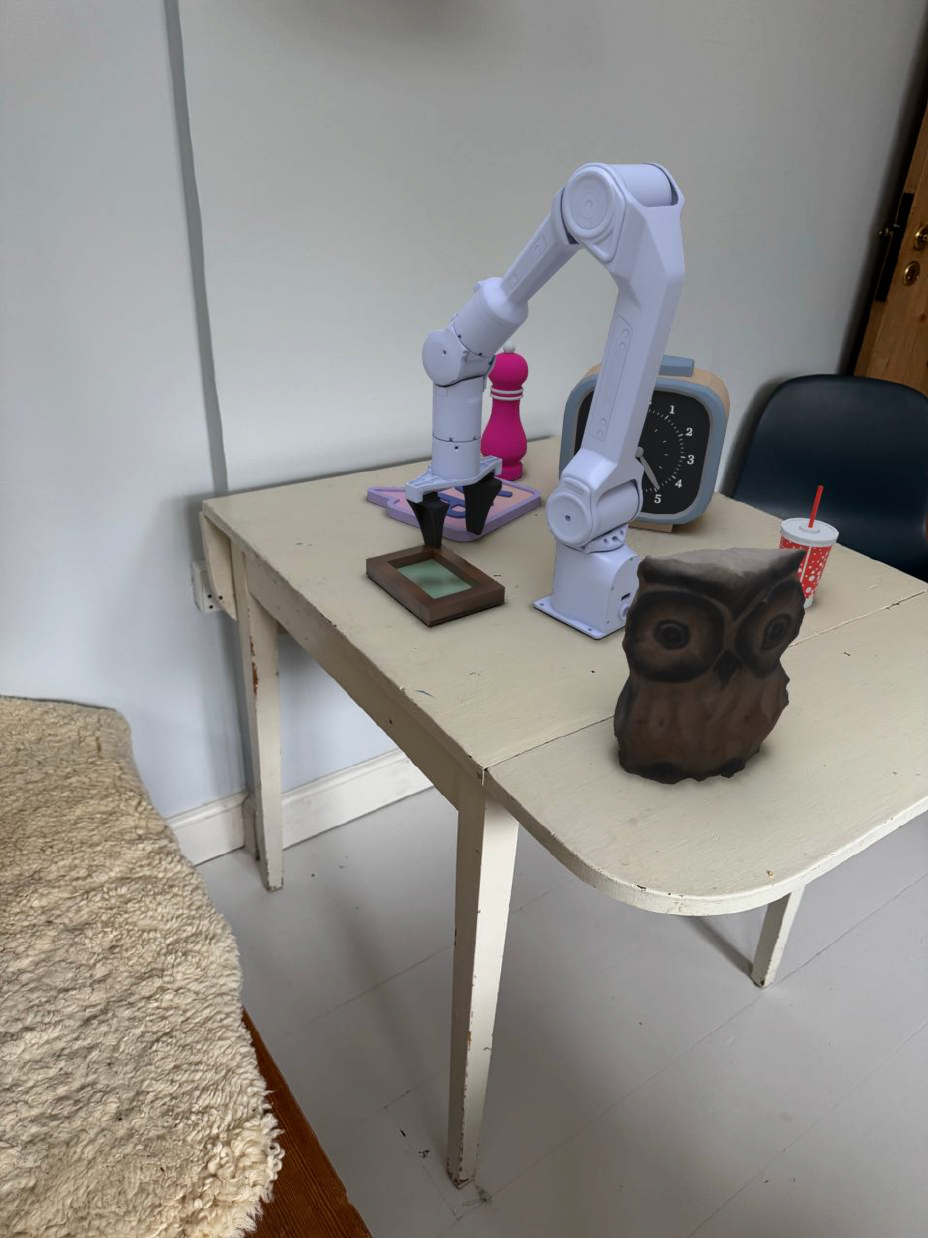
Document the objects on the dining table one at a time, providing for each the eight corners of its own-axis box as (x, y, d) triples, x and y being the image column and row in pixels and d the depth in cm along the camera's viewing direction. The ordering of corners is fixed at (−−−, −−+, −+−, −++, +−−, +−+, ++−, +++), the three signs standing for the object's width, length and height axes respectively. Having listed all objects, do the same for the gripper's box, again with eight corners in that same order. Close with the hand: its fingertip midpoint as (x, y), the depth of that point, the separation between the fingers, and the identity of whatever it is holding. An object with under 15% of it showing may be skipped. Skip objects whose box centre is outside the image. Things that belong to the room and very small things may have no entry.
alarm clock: (553, 517, 117) (567, 358, 106) (567, 493, 124) (582, 343, 113) (704, 540, 111) (736, 376, 100) (709, 514, 119) (739, 359, 108)
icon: (439, 459, 131) (547, 492, 120) (439, 468, 131) (546, 502, 121) (353, 494, 118) (465, 534, 107) (353, 503, 118) (465, 544, 108)
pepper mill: (503, 462, 135) (511, 334, 125) (534, 476, 130) (545, 343, 120) (469, 471, 131) (474, 339, 121) (500, 485, 126) (507, 349, 116)
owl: (779, 750, 74) (837, 543, 64) (715, 827, 65) (771, 603, 55) (651, 693, 81) (686, 498, 70) (578, 756, 72) (606, 545, 62)
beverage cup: (816, 591, 100) (847, 480, 93) (821, 616, 95) (854, 500, 88) (763, 583, 101) (789, 473, 94) (764, 607, 96) (793, 492, 89)
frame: (504, 602, 94) (505, 586, 93) (429, 626, 89) (429, 609, 88) (437, 555, 104) (437, 540, 103) (366, 574, 99) (365, 558, 98)
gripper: (474, 415, 105) (471, 515, 112) (387, 439, 96) (388, 546, 103) (517, 428, 101) (510, 532, 108) (429, 454, 92) (428, 566, 98)
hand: (453, 540), depth 105 cm, fingers open, 7 cm apart
